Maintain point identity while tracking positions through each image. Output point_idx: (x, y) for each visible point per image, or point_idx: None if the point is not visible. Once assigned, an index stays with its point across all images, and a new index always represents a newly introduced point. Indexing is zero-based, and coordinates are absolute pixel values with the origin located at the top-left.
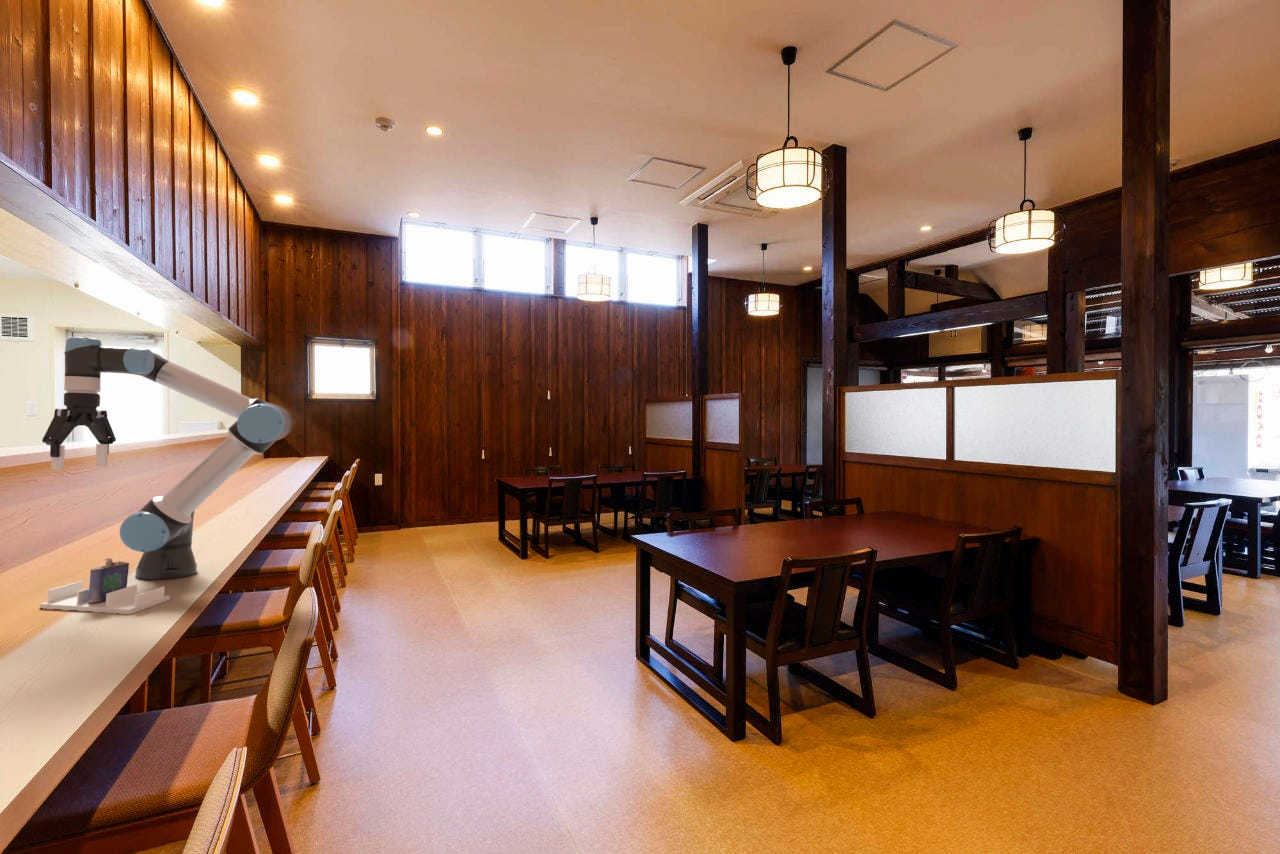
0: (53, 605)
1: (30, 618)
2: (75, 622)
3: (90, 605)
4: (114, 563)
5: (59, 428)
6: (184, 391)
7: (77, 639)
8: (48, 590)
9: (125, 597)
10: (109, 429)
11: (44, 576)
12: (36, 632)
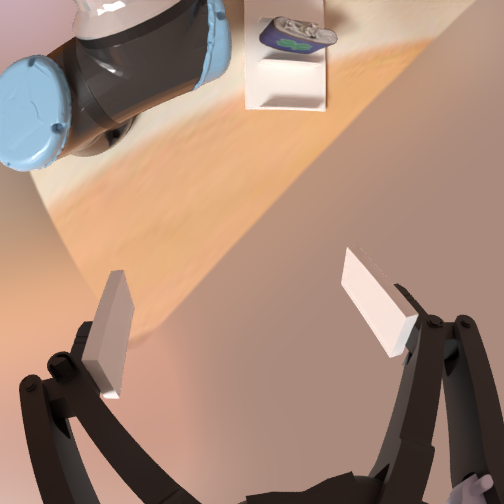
0: (325, 91)
1: (358, 89)
2: (360, 32)
3: None
4: (299, 27)
5: (483, 383)
6: None
7: (400, 2)
8: (320, 110)
9: None
10: (48, 456)
11: (170, 260)
12: (394, 49)
